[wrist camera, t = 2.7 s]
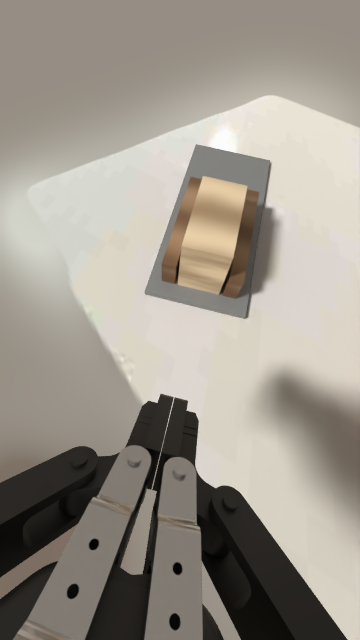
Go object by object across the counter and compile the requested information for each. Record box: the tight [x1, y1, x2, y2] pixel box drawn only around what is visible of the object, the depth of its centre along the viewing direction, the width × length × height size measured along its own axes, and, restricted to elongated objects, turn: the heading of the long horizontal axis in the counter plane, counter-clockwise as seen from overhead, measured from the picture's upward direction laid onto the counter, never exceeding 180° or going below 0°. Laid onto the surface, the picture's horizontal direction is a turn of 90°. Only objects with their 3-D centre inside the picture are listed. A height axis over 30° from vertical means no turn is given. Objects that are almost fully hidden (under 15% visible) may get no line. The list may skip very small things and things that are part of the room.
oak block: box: [178, 176, 248, 295], centre depth 30 cm, size 10×5×7 cm, turn 166°
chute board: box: [145, 144, 270, 319], centre depth 36 cm, size 28×12×1 cm, turn 166°
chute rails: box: [162, 177, 259, 299], centre depth 32 cm, size 14×9×4 cm, turn 166°
